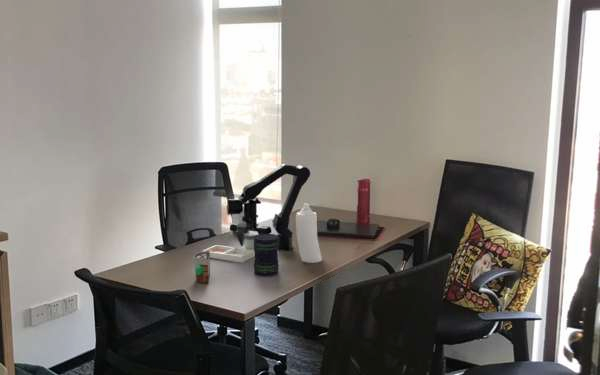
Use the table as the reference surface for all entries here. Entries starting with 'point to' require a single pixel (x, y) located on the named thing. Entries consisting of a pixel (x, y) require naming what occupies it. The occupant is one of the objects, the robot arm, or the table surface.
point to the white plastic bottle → (307, 235)
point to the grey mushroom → (249, 241)
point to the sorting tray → (230, 253)
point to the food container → (202, 266)
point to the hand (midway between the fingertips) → (250, 247)
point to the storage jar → (266, 255)
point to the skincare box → (238, 219)
